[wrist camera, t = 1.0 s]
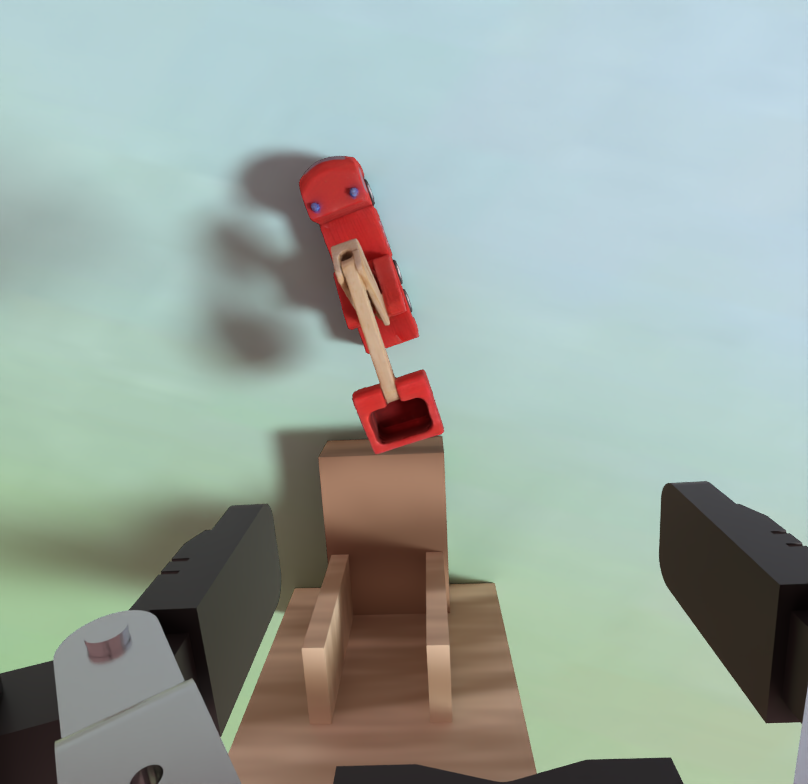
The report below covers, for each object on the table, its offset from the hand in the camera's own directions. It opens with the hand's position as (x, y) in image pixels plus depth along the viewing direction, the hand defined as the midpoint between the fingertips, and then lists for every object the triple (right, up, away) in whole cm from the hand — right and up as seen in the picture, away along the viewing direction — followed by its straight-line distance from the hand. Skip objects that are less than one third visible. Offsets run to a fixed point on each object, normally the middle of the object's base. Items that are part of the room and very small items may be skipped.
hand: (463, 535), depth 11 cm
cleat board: (-2, -6, +23) cm, 24 cm away
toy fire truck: (-3, +9, +20) cm, 22 cm away
